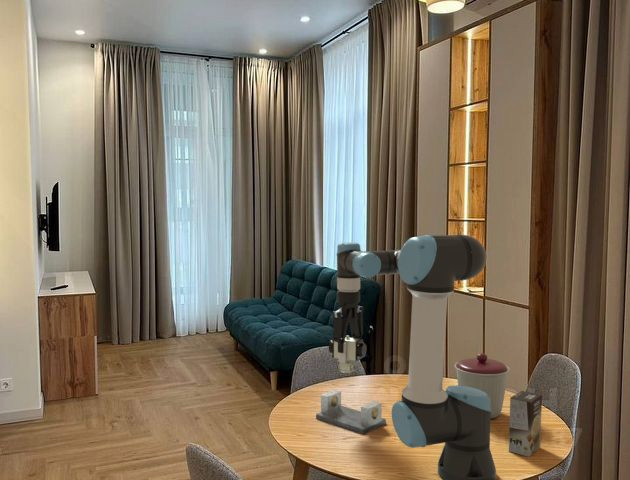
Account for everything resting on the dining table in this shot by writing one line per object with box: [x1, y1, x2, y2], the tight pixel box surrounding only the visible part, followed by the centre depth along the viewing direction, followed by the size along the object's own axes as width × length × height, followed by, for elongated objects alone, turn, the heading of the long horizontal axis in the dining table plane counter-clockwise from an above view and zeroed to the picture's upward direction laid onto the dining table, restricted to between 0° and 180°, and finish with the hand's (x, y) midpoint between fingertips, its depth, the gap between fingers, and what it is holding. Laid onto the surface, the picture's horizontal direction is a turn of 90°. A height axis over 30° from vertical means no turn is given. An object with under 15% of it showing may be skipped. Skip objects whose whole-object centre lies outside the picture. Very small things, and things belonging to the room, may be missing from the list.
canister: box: [454, 352, 511, 420], centre depth 204 cm, size 18×18×21 cm
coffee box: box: [508, 390, 543, 457], centre depth 176 cm, size 9×6×16 cm
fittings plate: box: [315, 389, 387, 435], centre depth 198 cm, size 20×12×8 cm, turn 48°
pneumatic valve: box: [328, 334, 367, 374], centre depth 197 cm, size 6×12×12 cm, turn 63°
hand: (348, 360), depth 196 cm, fingers closed on pneumatic valve, 6 cm apart
